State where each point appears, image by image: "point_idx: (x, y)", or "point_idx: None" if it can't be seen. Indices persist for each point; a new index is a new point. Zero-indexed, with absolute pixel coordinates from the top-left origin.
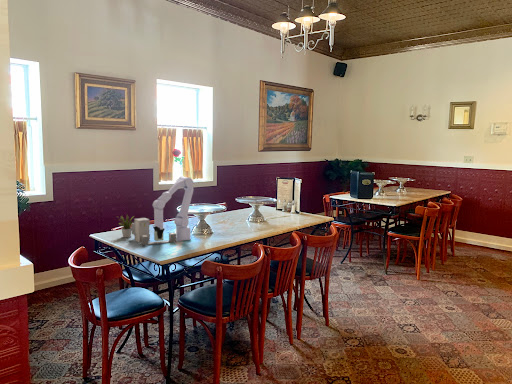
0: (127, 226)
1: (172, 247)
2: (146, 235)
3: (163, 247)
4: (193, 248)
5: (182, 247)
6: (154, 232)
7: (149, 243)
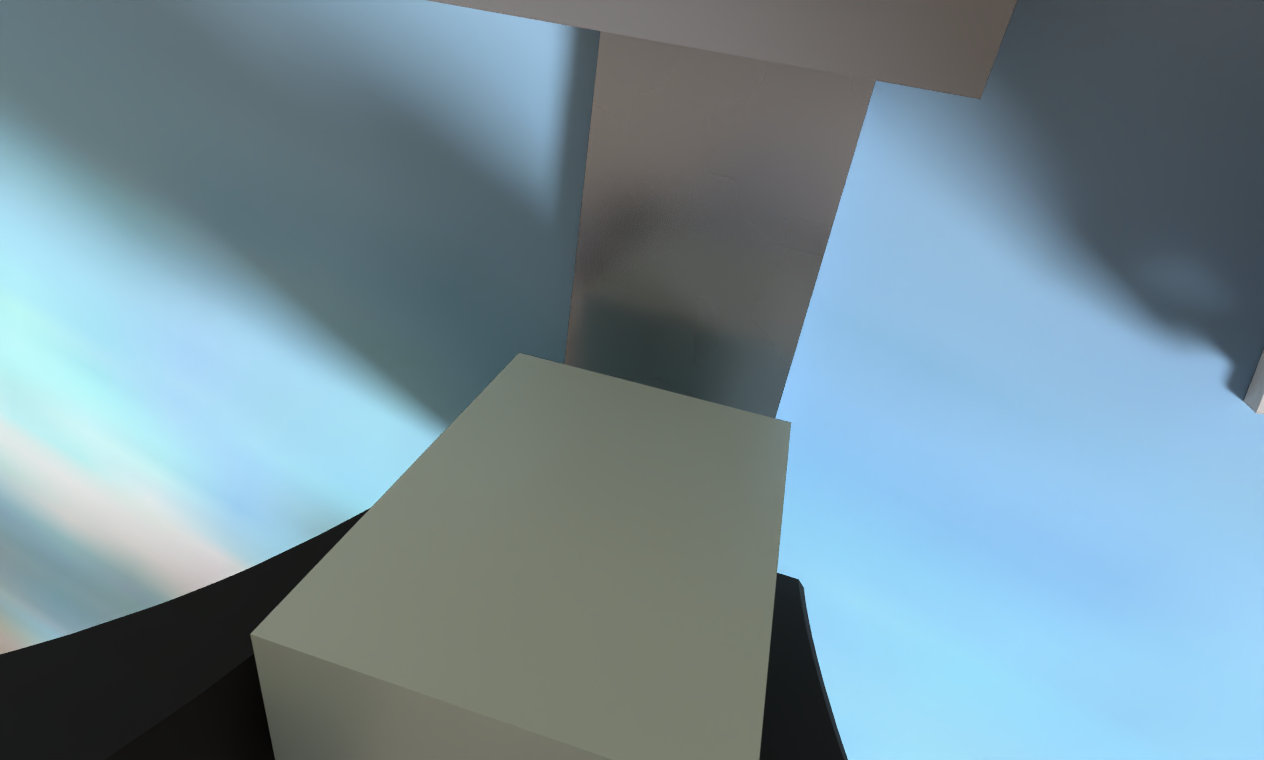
0: None
1: (151, 452)
2: (835, 28)
3: (189, 301)
4: (43, 635)
5: (121, 572)
6: (650, 680)
7: (646, 97)
